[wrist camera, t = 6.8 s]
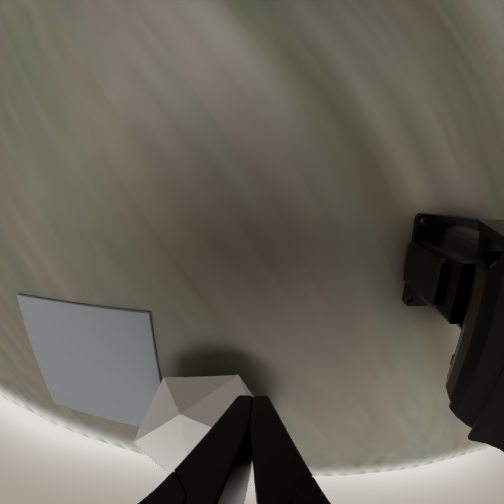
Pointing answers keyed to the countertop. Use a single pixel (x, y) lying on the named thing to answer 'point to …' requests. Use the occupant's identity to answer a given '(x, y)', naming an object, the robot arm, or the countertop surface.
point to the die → (185, 416)
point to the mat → (94, 356)
